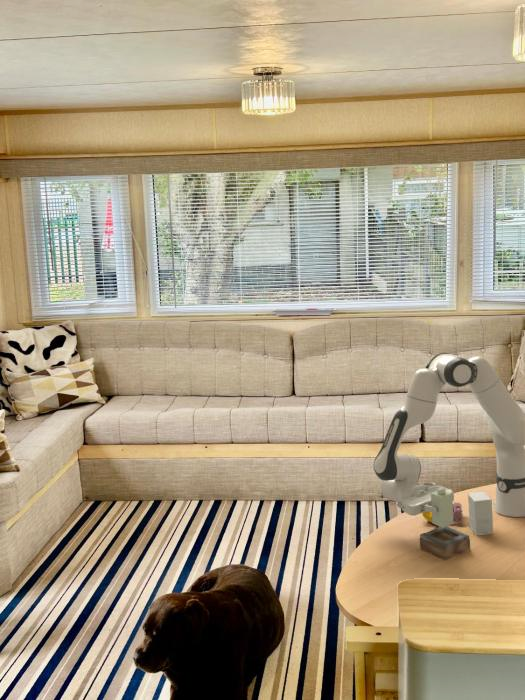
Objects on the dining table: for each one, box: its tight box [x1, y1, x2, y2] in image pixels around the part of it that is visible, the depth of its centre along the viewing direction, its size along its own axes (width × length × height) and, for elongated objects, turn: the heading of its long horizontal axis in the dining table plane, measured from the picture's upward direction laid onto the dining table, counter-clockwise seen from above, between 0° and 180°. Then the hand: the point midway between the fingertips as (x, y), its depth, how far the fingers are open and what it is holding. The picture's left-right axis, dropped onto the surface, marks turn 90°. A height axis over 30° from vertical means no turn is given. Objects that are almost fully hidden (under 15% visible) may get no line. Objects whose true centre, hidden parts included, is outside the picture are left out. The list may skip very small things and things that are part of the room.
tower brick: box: [431, 487, 454, 528], centre depth 262 cm, size 5×5×12 cm
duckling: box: [421, 512, 432, 523], centre depth 286 cm, size 11×5×10 cm, turn 44°
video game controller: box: [453, 501, 464, 524], centre depth 288 cm, size 10×5×7 cm, turn 169°
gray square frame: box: [418, 526, 471, 561], centre depth 264 cm, size 12×12×5 cm
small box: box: [467, 491, 494, 536], centre depth 275 cm, size 8×6×13 cm
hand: (443, 507), depth 261 cm, fingers closed on tower brick, 5 cm apart
